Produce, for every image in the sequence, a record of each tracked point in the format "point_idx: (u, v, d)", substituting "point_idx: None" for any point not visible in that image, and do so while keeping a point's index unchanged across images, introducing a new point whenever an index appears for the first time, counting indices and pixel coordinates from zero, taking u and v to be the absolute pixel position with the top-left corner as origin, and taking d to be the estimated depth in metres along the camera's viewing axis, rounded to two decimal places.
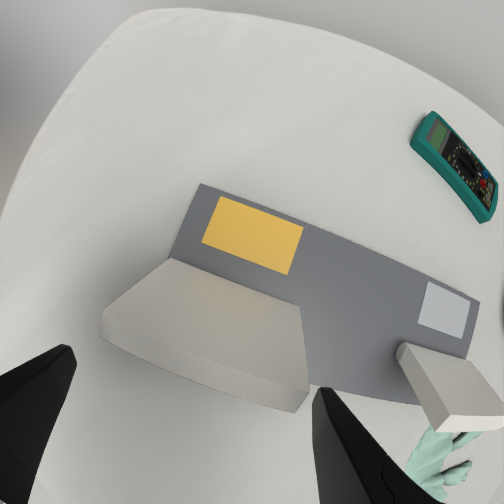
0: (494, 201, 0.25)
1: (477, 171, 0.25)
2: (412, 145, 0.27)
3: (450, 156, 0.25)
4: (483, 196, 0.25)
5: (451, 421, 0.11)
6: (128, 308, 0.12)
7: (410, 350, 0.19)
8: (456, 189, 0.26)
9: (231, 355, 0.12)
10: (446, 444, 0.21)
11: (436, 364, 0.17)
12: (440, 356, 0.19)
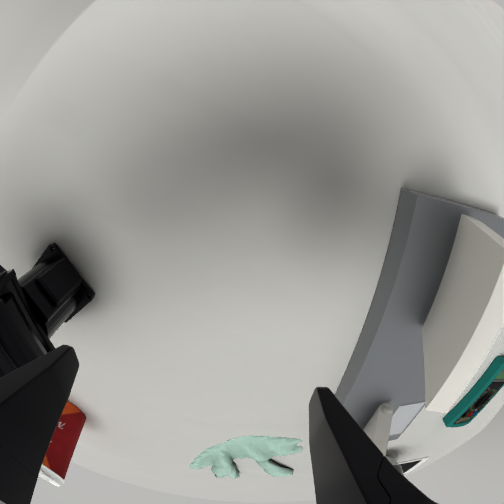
0: (458, 425, 0.29)
1: (477, 407, 0.28)
2: (496, 359, 0.25)
3: (489, 388, 0.26)
4: (462, 417, 0.28)
5: None
6: None
7: (391, 416, 0.22)
8: (467, 397, 0.28)
9: None
10: (267, 455, 0.32)
11: None
12: None
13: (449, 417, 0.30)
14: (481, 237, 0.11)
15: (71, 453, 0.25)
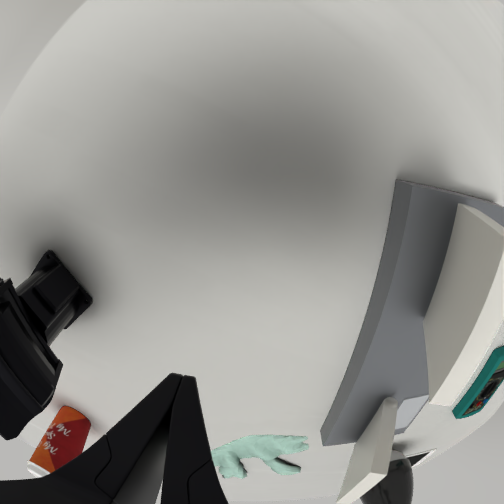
0: (469, 415, 0.29)
1: (486, 396, 0.28)
2: (494, 352, 0.26)
3: (492, 379, 0.26)
4: (470, 408, 0.28)
5: (377, 477, 0.15)
6: None
7: (396, 410, 0.22)
8: (471, 390, 0.28)
9: None
10: (273, 454, 0.32)
11: None
12: None
13: (457, 410, 0.30)
14: (478, 225, 0.11)
15: None
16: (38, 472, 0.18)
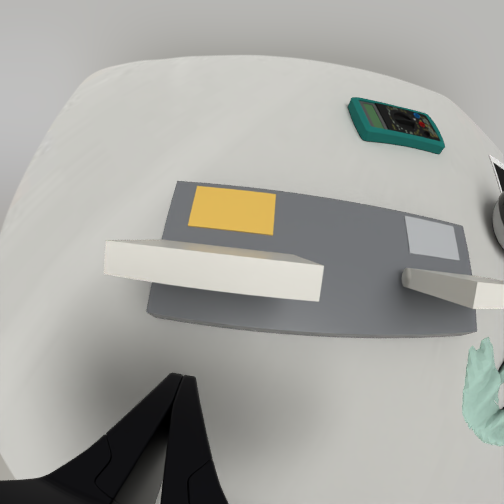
0: (436, 129, 0.32)
1: (411, 118, 0.32)
2: (364, 138, 0.31)
3: (393, 124, 0.31)
4: (429, 133, 0.31)
5: (482, 292, 0.12)
6: (130, 241, 0.13)
7: (413, 269, 0.20)
8: (411, 145, 0.32)
9: (237, 254, 0.13)
10: (493, 376, 0.20)
11: (443, 273, 0.18)
12: (445, 272, 0.20)
13: (436, 149, 0.32)
14: None
15: None
16: None
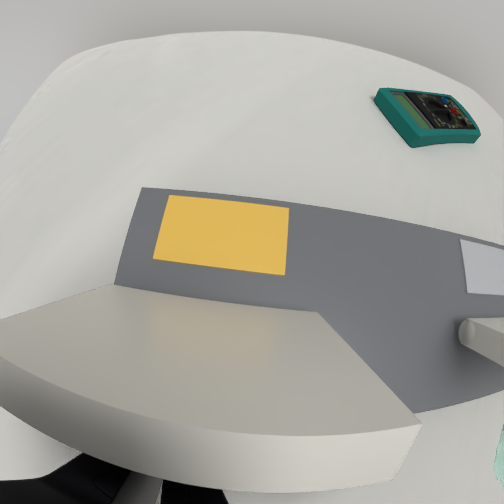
0: (467, 114, 0.24)
1: (443, 105, 0.24)
2: (413, 145, 0.22)
3: (435, 119, 0.22)
4: (464, 121, 0.23)
5: None
6: (8, 331, 0.05)
7: (478, 324, 0.11)
8: (453, 140, 0.23)
9: (211, 399, 0.04)
10: None
11: None
12: None
13: (473, 139, 0.24)
14: None
15: None
16: None
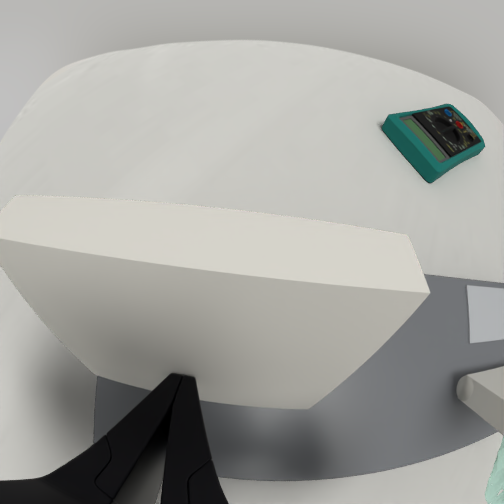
0: (470, 124, 0.23)
1: (449, 121, 0.22)
2: (431, 181, 0.21)
3: (447, 144, 0.21)
4: (470, 134, 0.22)
5: None
6: None
7: (477, 383, 0.10)
8: (463, 160, 0.22)
9: None
10: None
11: None
12: None
13: (478, 151, 0.23)
14: (49, 322, 0.07)
15: None
16: None
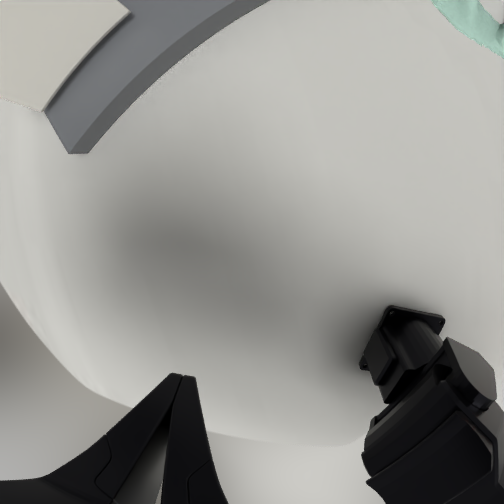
0: None
1: None
2: None
3: None
4: None
5: None
6: None
7: None
8: None
9: None
10: None
11: None
12: None
13: None
14: None
15: None
16: None
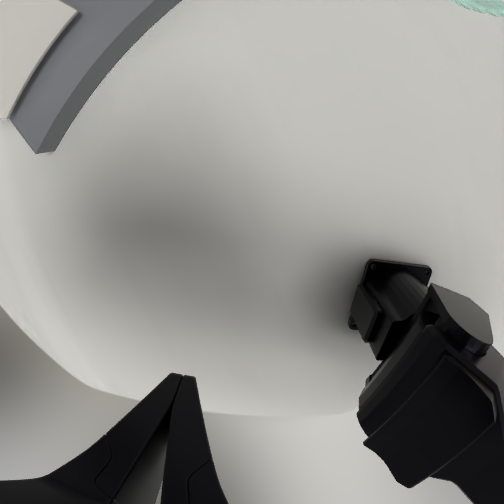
0: None
1: None
2: None
3: None
4: None
5: None
6: None
7: None
8: None
9: None
10: None
11: None
12: None
13: None
14: None
15: None
16: None
